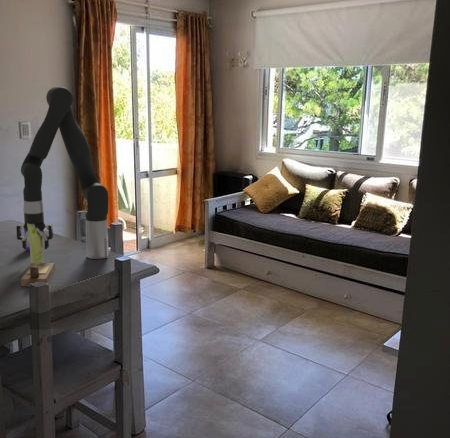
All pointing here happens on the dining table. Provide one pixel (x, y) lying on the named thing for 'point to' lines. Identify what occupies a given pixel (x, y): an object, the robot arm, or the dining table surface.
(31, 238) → the tube
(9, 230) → the dining table surface
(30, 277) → the brown flat panelled slab
